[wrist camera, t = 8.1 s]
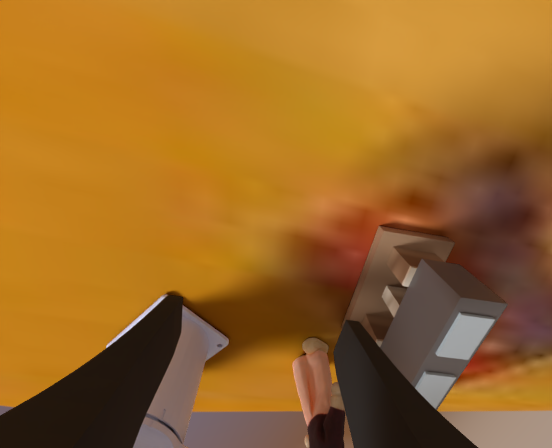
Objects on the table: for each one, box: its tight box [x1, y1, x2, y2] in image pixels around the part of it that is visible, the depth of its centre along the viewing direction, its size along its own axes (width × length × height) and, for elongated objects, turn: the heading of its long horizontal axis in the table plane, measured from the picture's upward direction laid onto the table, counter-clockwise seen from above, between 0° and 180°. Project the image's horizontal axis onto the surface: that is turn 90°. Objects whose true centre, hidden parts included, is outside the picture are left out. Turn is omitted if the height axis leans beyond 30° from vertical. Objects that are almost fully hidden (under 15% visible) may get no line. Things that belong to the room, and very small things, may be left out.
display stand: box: [341, 226, 455, 347], centre depth 21 cm, size 11×6×4 cm, turn 170°
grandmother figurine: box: [293, 338, 345, 448], centre depth 21 cm, size 8×4×13 cm, turn 176°
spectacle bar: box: [380, 259, 508, 410], centre depth 18 cm, size 10×3×4 cm, turn 170°
